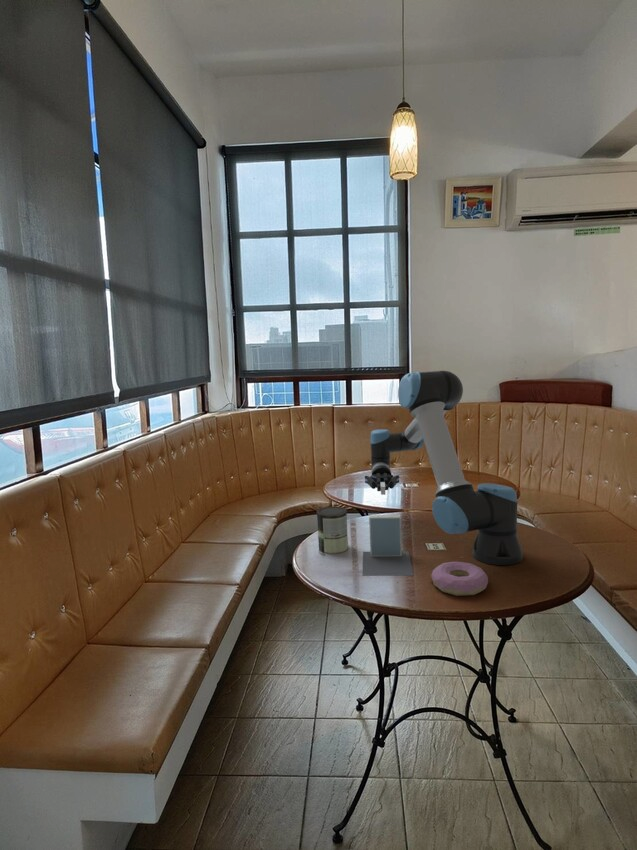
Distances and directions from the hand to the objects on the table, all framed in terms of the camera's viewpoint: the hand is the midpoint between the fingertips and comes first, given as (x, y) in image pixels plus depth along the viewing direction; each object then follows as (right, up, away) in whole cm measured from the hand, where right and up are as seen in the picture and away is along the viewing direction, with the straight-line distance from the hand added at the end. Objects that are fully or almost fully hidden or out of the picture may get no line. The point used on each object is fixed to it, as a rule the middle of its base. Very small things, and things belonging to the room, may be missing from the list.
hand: (383, 490), depth 170 cm
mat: (0, -22, -11) cm, 25 cm away
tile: (0, -20, -5) cm, 21 cm away
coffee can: (-17, -21, +3) cm, 27 cm away
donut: (+18, -24, -28) cm, 41 cm away
